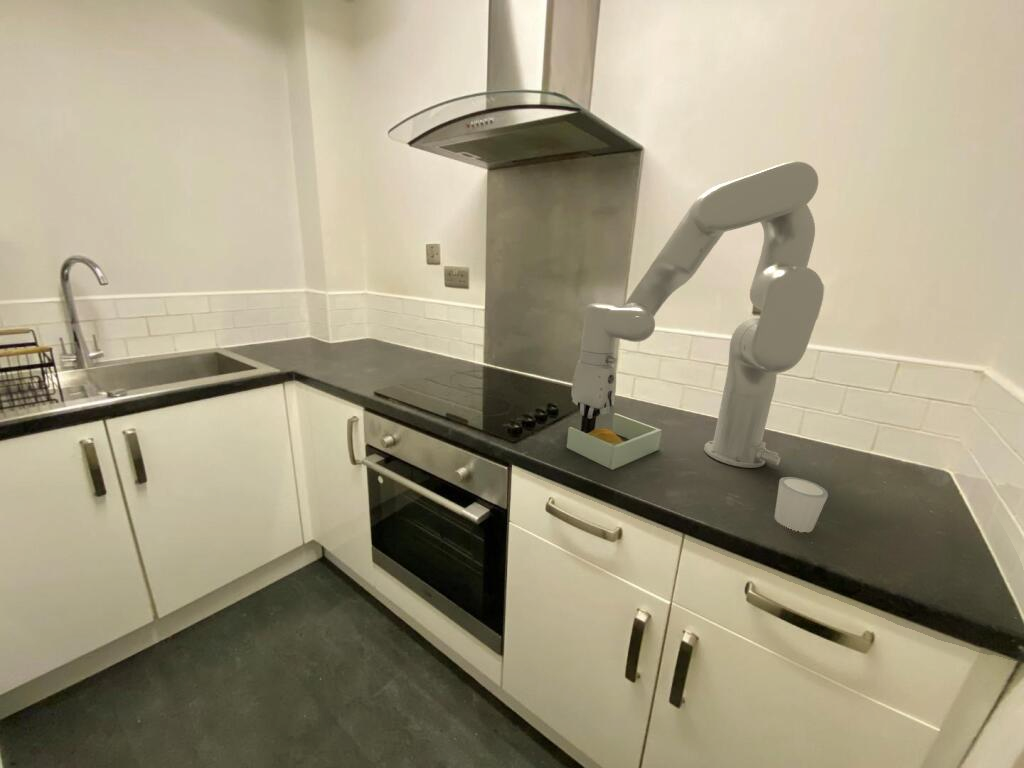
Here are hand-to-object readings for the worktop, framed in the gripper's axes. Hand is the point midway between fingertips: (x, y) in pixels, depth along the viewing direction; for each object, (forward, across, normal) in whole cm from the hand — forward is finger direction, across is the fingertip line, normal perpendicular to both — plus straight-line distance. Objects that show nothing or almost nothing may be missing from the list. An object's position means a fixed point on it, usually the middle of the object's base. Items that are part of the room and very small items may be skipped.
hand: (587, 431), depth 102 cm
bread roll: (+2, -6, 0) cm, 6 cm away
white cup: (+2, -44, -2) cm, 44 cm away
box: (+2, -8, 0) cm, 8 cm away
